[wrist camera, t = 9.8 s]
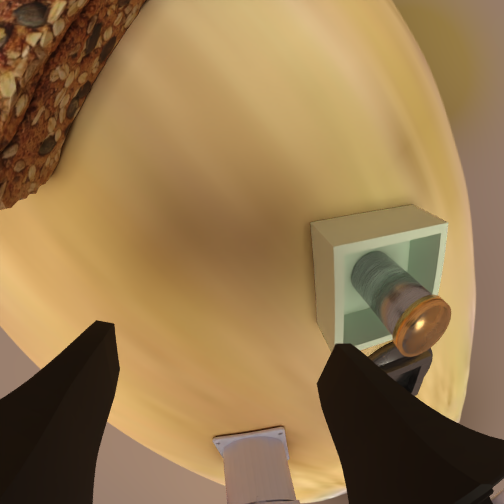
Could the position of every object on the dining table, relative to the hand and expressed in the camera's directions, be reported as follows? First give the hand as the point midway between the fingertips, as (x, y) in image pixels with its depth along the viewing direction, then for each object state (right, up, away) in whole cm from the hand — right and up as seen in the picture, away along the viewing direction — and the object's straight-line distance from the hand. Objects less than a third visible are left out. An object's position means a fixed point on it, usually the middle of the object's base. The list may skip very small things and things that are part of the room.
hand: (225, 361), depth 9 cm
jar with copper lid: (+9, +2, +11) cm, 15 cm away
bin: (+9, +2, +12) cm, 15 cm away
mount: (+15, -9, +17) cm, 25 cm away
